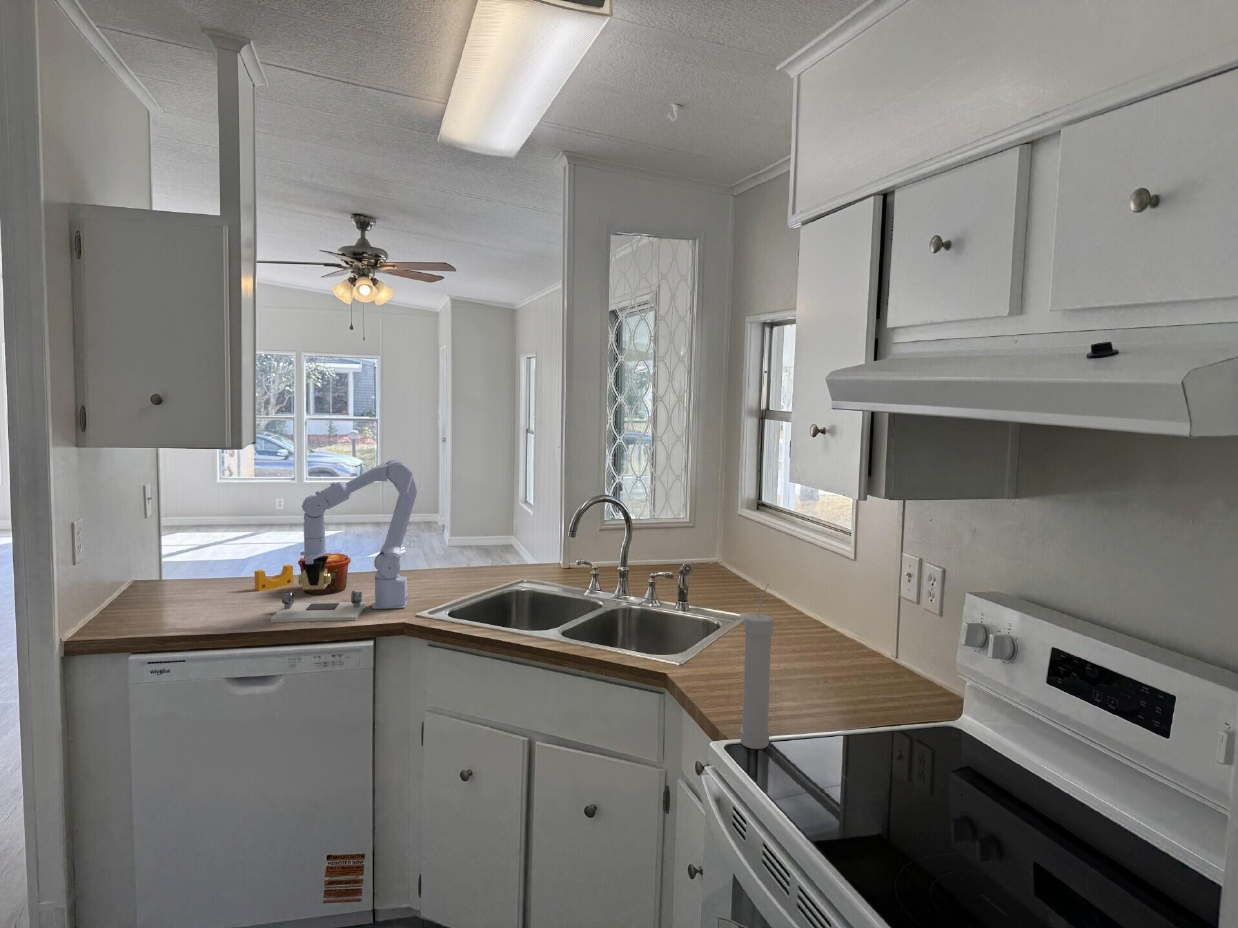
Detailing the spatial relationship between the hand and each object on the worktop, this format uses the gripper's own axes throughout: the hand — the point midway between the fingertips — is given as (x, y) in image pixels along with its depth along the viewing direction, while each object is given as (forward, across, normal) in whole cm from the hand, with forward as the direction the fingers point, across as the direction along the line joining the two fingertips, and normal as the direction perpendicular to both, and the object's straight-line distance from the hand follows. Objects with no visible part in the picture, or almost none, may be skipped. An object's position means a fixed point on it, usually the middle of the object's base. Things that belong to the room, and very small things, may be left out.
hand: (315, 583), depth 229 cm
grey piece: (+9, +98, +101) cm, 141 cm away
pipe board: (+9, +1, +1) cm, 9 cm away
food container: (+9, -27, -4) cm, 29 cm away
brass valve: (+1, 0, 0) cm, 1 cm away
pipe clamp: (+9, -33, -21) cm, 40 cm away
